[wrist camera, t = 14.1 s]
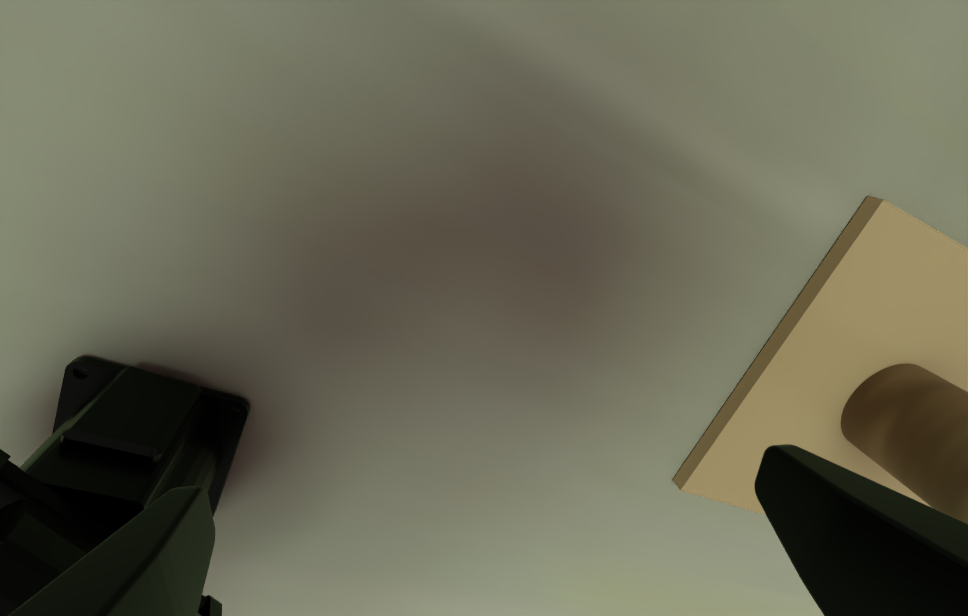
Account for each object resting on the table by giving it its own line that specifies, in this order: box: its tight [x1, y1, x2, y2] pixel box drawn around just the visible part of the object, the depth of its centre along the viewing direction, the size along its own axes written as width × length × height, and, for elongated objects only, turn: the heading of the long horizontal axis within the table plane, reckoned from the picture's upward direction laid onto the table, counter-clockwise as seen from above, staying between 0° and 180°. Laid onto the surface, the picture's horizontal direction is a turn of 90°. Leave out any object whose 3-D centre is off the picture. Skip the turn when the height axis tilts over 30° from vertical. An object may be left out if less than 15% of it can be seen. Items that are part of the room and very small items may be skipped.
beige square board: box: [673, 196, 968, 514], centre depth 26 cm, size 16×16×1 cm
